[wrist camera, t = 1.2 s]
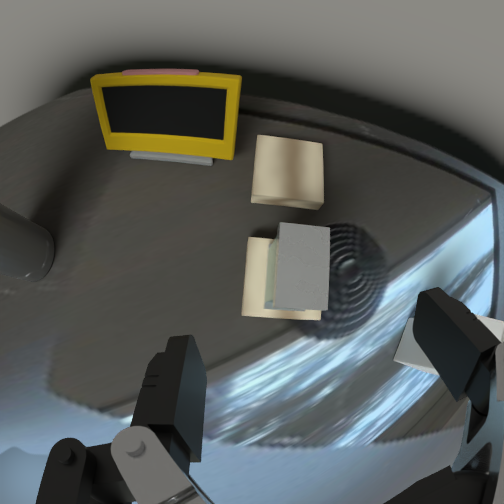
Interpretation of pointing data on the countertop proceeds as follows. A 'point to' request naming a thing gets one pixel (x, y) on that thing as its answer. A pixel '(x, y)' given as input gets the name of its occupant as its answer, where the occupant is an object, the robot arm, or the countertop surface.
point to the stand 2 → (263, 285)
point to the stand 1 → (288, 173)
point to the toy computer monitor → (169, 113)
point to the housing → (298, 268)
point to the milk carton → (417, 359)
